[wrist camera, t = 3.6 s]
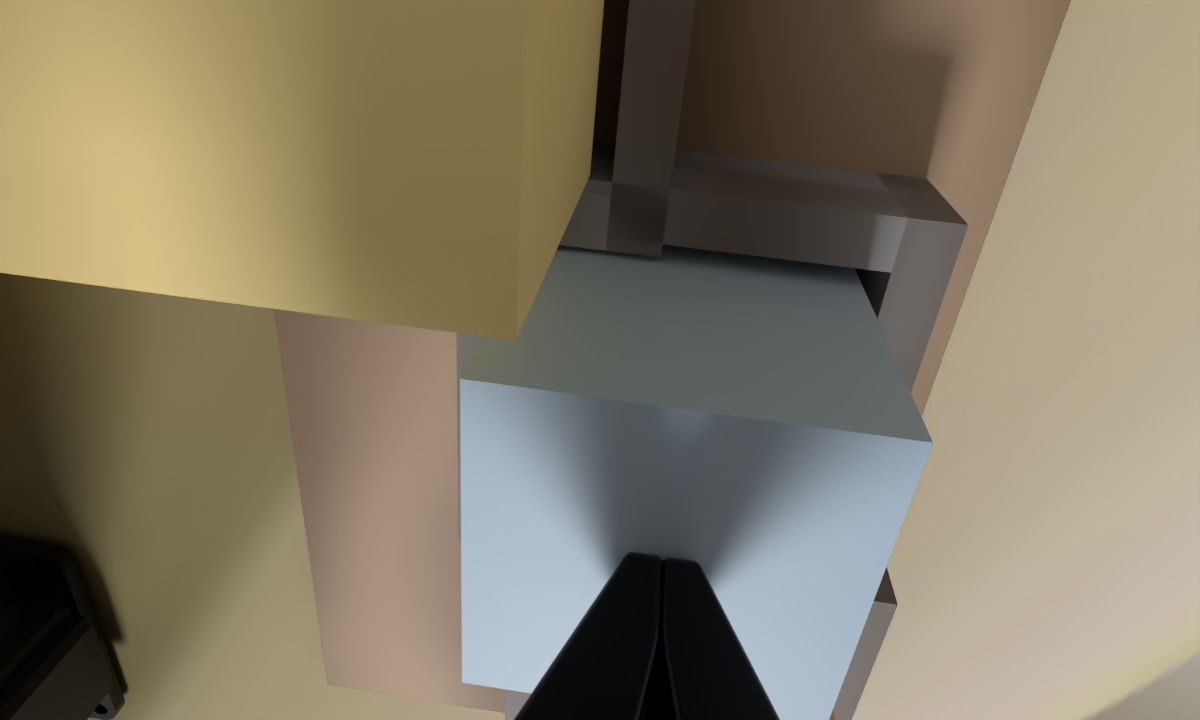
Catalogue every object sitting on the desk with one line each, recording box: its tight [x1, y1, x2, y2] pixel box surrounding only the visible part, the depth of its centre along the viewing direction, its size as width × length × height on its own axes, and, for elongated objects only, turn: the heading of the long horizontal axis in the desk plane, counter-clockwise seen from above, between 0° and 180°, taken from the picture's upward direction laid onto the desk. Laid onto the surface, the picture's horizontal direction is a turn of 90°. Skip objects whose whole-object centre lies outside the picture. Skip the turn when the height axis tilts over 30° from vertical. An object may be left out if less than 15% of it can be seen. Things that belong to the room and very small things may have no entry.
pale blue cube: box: [460, 245, 933, 720], centre depth 11 cm, size 5×5×5 cm
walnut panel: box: [274, 0, 1071, 720], centre depth 14 cm, size 12×21×3 cm, turn 175°
